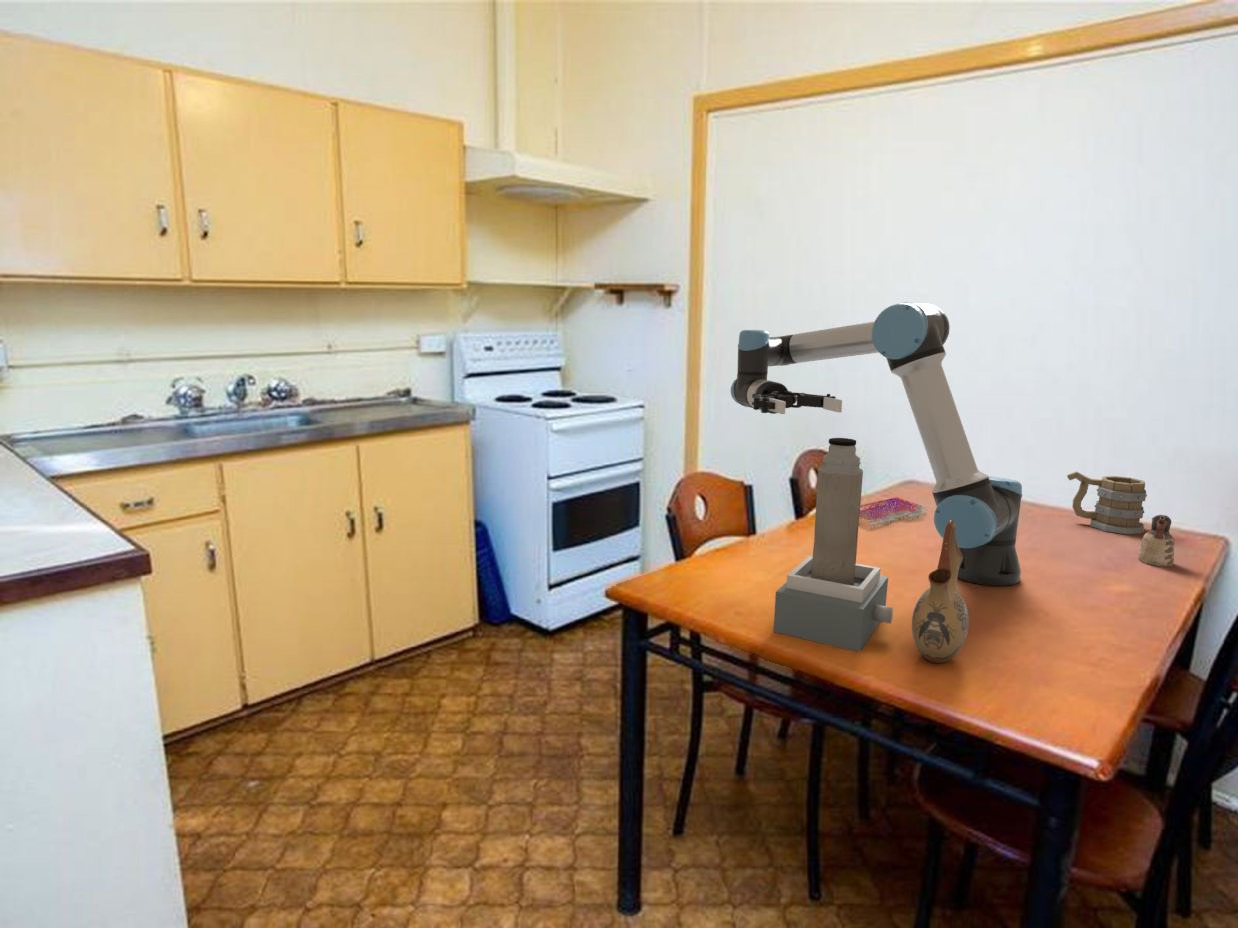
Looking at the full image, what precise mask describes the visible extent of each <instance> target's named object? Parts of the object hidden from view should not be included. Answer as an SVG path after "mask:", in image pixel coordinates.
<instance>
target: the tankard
mask: <svg viewBox="0 0 1238 928" xmlns="http://www.w3.org/2000/svg"><path fill="white" fill-rule="evenodd" d="M1066 477H1067V478H1068V481H1073V480H1074V479H1076V480H1077V481H1079V482H1080V485H1079V488H1078V490H1077V493H1076V494H1075V496H1074V497H1073V498H1072V510H1073V512H1074V513H1075V515H1076V516H1077V517H1080V518H1083V519H1088V520H1090V524H1089V527H1091V528H1094V529H1097V530H1101V531H1102V532H1106V533H1112V534H1121V535H1128V536H1129V535H1142V534H1144V530H1145V527H1144V526H1145V525H1144V523H1142V522H1140V519H1143V517H1144V513H1145V510H1144V509H1145V508H1144V506H1143V502H1145V501H1146V498H1147V497H1148V495H1147V490H1146V489H1145V488H1146V482H1145V481H1144V480H1141V479H1138V478H1132V477H1126V476H1117V475H1116V476H1115V475H1111V476H1110V475H1105V476H1102V477H1101V479H1098V478H1097V479H1096V478H1091V477H1089V476H1086V475H1084V474H1082V473H1080V472H1078V471H1077V470H1076V471H1074V472H1072V473H1071V472H1070V473H1069V474H1067V475H1066ZM1089 486H1096V487H1097V486H1098V487H1097V488H1096V492H1097V493H1096V494H1097V496H1098V500H1097V501H1096V503H1095V505H1094V508H1095V509H1094V511H1089V510H1088V511H1087V510H1084V509H1083V508H1082V506H1081V505H1082V501H1084V500H1083V499H1084V498H1085V496H1086V495H1087V493H1088V489H1089Z"/></svg>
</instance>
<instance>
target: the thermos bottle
mask: <svg viewBox="0 0 1238 928" xmlns="http://www.w3.org/2000/svg"><path fill="white" fill-rule="evenodd" d="M828 444H829V446H828V451H827V453H826V454H824V455H823V456H822V461H821V463H822V465H821V466H819V467H818V473H817V486H816V487H817V489H816V502H815V516H814V517H815V518H814V531H813V532H814V535H813V536H814V538H813V539H814V540H813V546H812V547H813V548H812V556H813V559H812V574H811V578H814V579H820V580H825V581H830V582H835V583H841V584H846V585H851V586H854V579H855V567H856V564H857V554H858V553H857V552H858V540H859V539H858V536H859V525H860V524H859V523H860V519H859V518H860V517H859V516H860V510H861V507H860V505H862V504H861V501H862V492H863V491H862V489H863V479H864V476H863V475H864V470H863V469H862V468H860V465H861V458H860V456H858V455H857V453H856V451H857V448H856V445H857V440H856V439H852V438H846V437H832V438H828Z"/></svg>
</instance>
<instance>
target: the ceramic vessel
mask: <svg viewBox="0 0 1238 928" xmlns="http://www.w3.org/2000/svg"><path fill="white" fill-rule="evenodd" d="M962 559H963V556H962V554H961V551H960V549H959V547H958V544H957V540H956V524H955V521H953V520H949V521H948V523H947V525H946V527H945V532H944V537H943V538H942V544H941V550H940V554H939V559H938V564H937V568H936V570H933V571H931V572H930V573H929V574H928V575H927V576H928V582H929V586H930V587H929V588H928V589H926V590H925V591H924V592H923V593H922V594H921V596H920V597H919V598H918V600H917V601H916V603H915V606H914V609H913V612H912V617H911V634H912V639H913V641H914V645H915V646H916V648H917V650H918V652H919V653H920V654H921V655H922V657H923V658H925V660H927V661H928V662H932V663H936V664H941V663H942V664H943V663H947V662H948V661H950V660H952V659H953V658H955V657H956V656H957V655H958V654H959V653H960V651H961V650H962V648H963V647H964V644H965V642H966V640H967V637H968V633H969V626H970V617H969V610H968V607H967V604H966V602H965V599H964V597H963V596H962V594H961V593H960V591H959V587H958V586H959V585H958V578H957V576H958V571H959V567H960V564H961V562H962Z"/></svg>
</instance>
